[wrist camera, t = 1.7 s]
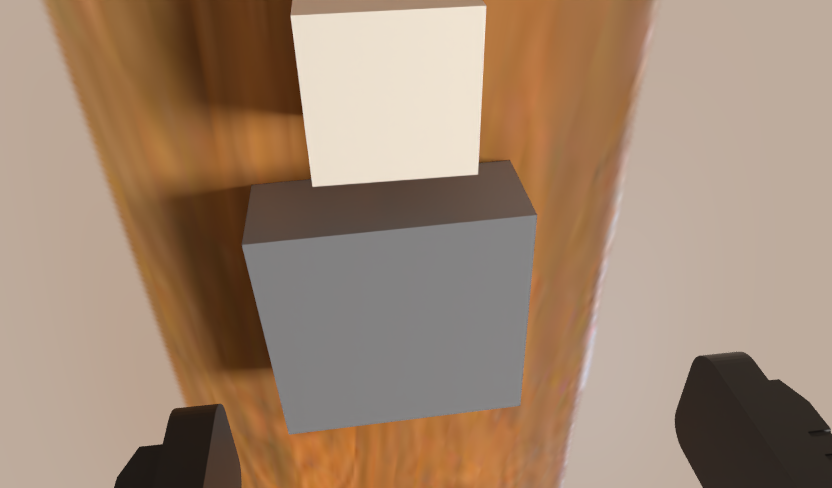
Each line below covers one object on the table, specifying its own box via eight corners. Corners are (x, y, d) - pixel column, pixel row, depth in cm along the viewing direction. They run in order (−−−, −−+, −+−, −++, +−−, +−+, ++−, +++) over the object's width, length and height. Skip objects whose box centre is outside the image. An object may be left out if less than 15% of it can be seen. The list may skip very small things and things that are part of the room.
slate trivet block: (252, 181, 29) (241, 245, 25) (508, 156, 30) (537, 214, 26) (292, 362, 37) (289, 434, 33) (498, 338, 37) (520, 405, 33)
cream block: (296, -32, 24) (290, 15, 19) (453, -39, 25) (486, 5, 20) (313, 115, 28) (312, 186, 23) (450, 106, 28) (478, 174, 23)
